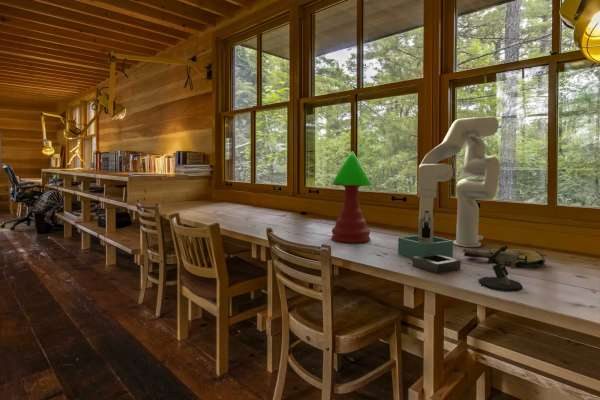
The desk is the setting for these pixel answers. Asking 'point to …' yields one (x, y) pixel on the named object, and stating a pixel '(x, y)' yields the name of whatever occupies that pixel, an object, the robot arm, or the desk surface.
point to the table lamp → (351, 203)
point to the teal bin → (424, 247)
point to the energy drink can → (420, 226)
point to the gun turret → (500, 270)
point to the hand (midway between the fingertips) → (425, 235)
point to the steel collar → (436, 263)
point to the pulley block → (532, 257)
